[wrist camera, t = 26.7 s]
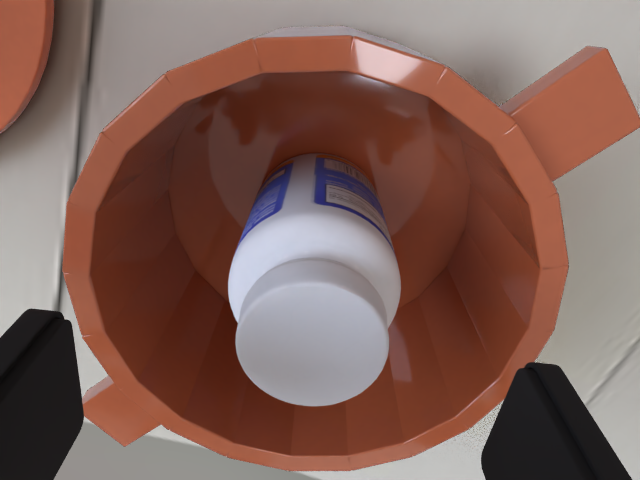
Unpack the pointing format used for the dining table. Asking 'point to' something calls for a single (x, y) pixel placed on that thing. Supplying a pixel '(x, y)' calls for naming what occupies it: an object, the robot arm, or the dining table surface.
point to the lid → (22, 53)
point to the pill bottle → (314, 283)
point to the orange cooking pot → (400, 215)
